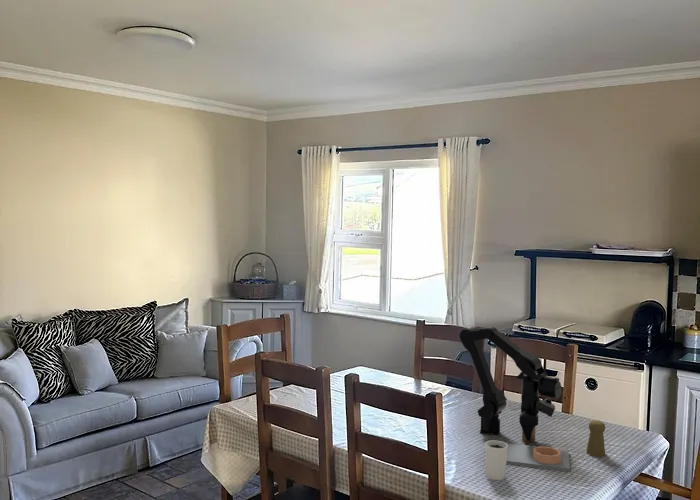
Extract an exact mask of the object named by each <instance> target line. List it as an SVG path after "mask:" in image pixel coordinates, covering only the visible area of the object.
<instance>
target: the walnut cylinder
mask: <svg viewBox="0 0 700 500" xmlns="http://www.w3.org/2000/svg"><path fill="white" fill-rule="evenodd" d="M521 430H522V431H521V432H522V434H521V443H524V444H527V445H533V444H536V426H535V427H534V428H533V431H532V435H531V439H530V441H528V440H526V437H525V434H524V432H523V429H522V428H521Z"/></svg>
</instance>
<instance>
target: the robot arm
mask: <svg viewBox="0 0 700 500" xmlns="http://www.w3.org/2000/svg"><path fill="white" fill-rule="evenodd" d="M484 340H489V341H490V342H491V343H492V344H493V345H494V346H496V347H497V348H498V349H499V350H501V351H502V352H503V353H505V355H506V356H508V357H509V358H511V359H512V360H513V361H514V364H515V366H516V367H517V369H519V370H520V373H519V374H518V375H516V377H515V378H516V379H519V380H521V397H520V398H521V399H520V400H521V401H520V414H519V422H518V423H519V425H520V427H521V430H522V429H523V432H524V434H525V437H526V440H528V441H530V439H531V435H532V431H533V428H534V427H535V428H536V427H537V426H538V425H539V415H538V414H539V412H540V413H542V414H545V415H547V417H551V418H552V417H553V415H554V412H555V410H556V406H555V404H554V403H553V402H552V399H551V398H553V399H559V398H560V396H561V394H562V384H561V382H560V378H559V377H553V376H548V375H549V374H548V373H547V371H546V369H545V368H544V366H543V364H542V359H540V358H539V357H538V356H536V355H535V354H533V353H532V352H528V351H526V350H523V349H522V348H520V347H519V346H518V345H517V344H516V343H514V342H513V341H512V340H510V339H509V338H508V337H506V336H505V335H503V334H502V332H501V331H499V330H498V329H497V327H495V326H490V327H483V328H482V327H481V328H478V327H476V326H472V327H471V326H470V327H468V328H464V329H462V330H461V331H460V333H459V341H460V342H461V345H462V346H463V348H465V350H466V351H467V352H468V353H469V355H470V357H471V361H472V362H473V366H474V369H475V371H476V374H477V377H478V379H479V382H480V385H481V388H482V403H483V406H481V407H480V408H479V409H478V410H477V413H478V417H479V418H480V430H479V433H480V434H487V435H496V436H498V435H499V433H500V431H501V418H500V415H501V414H502V412H503V410H504V409H506V407H507V400H508V398H507V397H506V396H505V391H504V389H499V388H498V387H497V386H496V384H495V381H494V378H493V375H492V372H491V370H490V366H489V365H488V364H489V363H488V361H487V358H486V356H485V353H484V350H483V345H484V344H483V342H484ZM539 394H540V395H539ZM540 396H544V397H546V398H545V399H541V398H540ZM549 397H550V398H549Z"/></svg>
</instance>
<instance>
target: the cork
mask: <svg viewBox="0 0 700 500" xmlns="http://www.w3.org/2000/svg"><path fill="white" fill-rule="evenodd" d="M588 428H589V437H588V441H587V446H586V454H587V455H588V456H591V457H596V458H603V457H606V448H605V447H606V446H605V437H604V432H605V431H606V424H605V423H604V422H603V421H600V420H594V419H593V420H591V421H590V422H589V423H588Z"/></svg>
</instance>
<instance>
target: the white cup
mask: <svg viewBox="0 0 700 500" xmlns="http://www.w3.org/2000/svg"><path fill="white" fill-rule="evenodd" d="M484 448H485V476H486V478H488V479H489V480H493V481H503V480H505V479H506V474H507V473H506V472H507V471H506V470H507V464H506V461H507V448H508V445H507V443H506V442H504V441H502V440H501V441H500V440H495V439H494V440H493V439H492V440H487V441H486V442H485V447H484Z"/></svg>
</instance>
